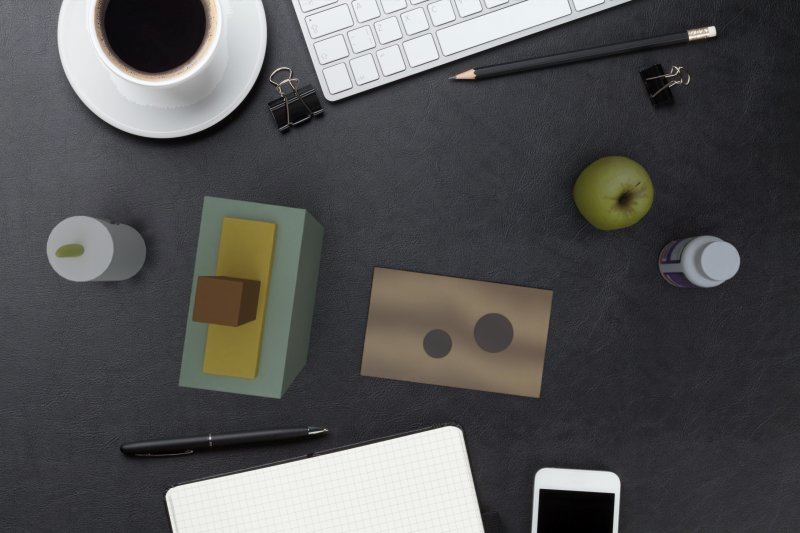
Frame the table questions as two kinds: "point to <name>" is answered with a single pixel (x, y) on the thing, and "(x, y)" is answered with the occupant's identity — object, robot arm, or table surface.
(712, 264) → the pill bottle
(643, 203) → the apple
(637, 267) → the table surface
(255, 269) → the wiper
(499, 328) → the mat
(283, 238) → the tall sage green box
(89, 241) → the candle
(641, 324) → the table surface
